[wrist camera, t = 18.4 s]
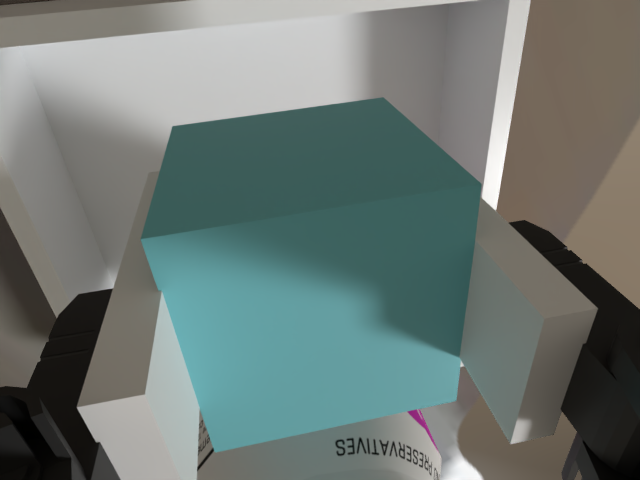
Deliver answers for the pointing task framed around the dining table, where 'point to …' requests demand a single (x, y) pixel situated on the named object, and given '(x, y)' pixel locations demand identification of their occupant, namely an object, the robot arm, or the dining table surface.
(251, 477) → the supplement can
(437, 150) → the cube
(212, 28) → the tote
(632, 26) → the dining table surface
